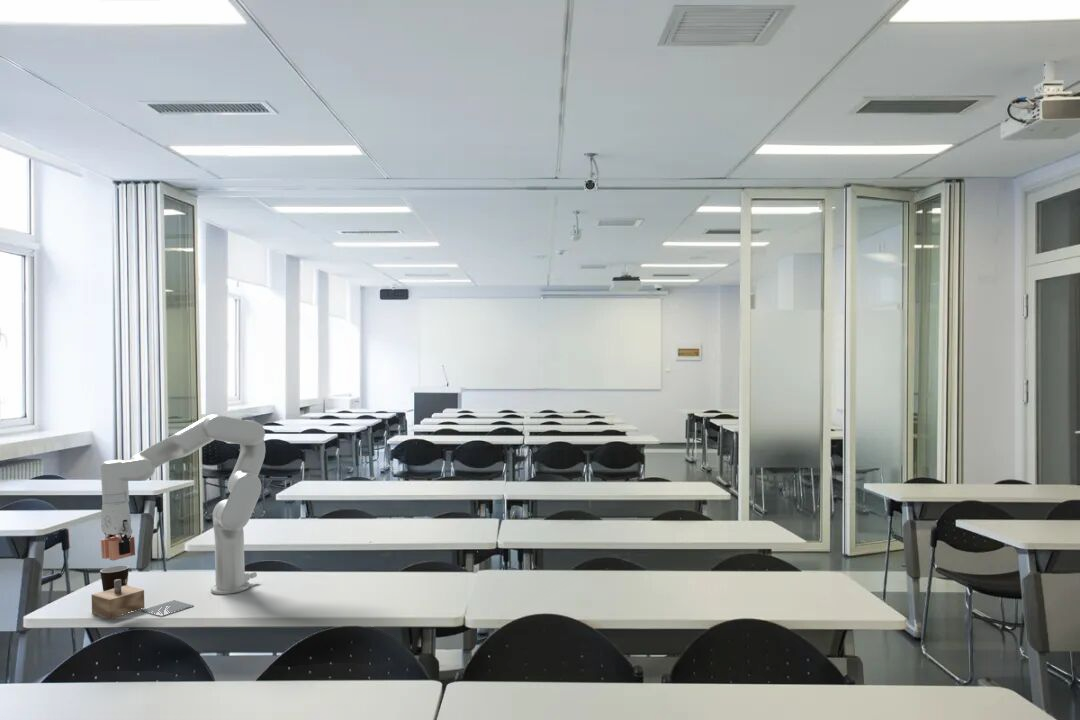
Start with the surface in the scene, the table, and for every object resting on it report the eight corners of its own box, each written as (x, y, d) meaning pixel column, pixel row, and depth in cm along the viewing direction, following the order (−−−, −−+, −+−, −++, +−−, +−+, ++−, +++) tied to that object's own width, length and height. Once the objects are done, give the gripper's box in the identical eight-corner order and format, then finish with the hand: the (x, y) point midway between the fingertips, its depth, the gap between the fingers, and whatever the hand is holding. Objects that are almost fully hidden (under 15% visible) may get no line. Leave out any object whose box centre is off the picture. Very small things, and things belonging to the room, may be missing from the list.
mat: (174, 601, 248) (174, 600, 248) (193, 606, 242) (193, 605, 242) (141, 611, 239) (141, 609, 239) (160, 616, 233) (160, 615, 233)
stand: (126, 603, 247) (125, 573, 247) (144, 608, 241) (143, 577, 241) (91, 613, 238) (91, 582, 238) (109, 618, 232) (109, 587, 232)
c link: (123, 552, 245) (122, 534, 245) (135, 554, 241) (134, 536, 241) (101, 558, 239) (100, 539, 239) (113, 560, 235) (112, 542, 235)
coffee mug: (116, 602, 248) (115, 573, 248) (94, 601, 250) (94, 572, 250) (141, 591, 259) (141, 563, 259) (120, 590, 261) (120, 562, 261)
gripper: (89, 498, 241) (92, 552, 241) (118, 502, 232) (121, 558, 232) (113, 494, 247) (115, 546, 248) (141, 498, 238) (144, 552, 238)
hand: (118, 552), depth 240 cm, fingers closed on c link, 7 cm apart
